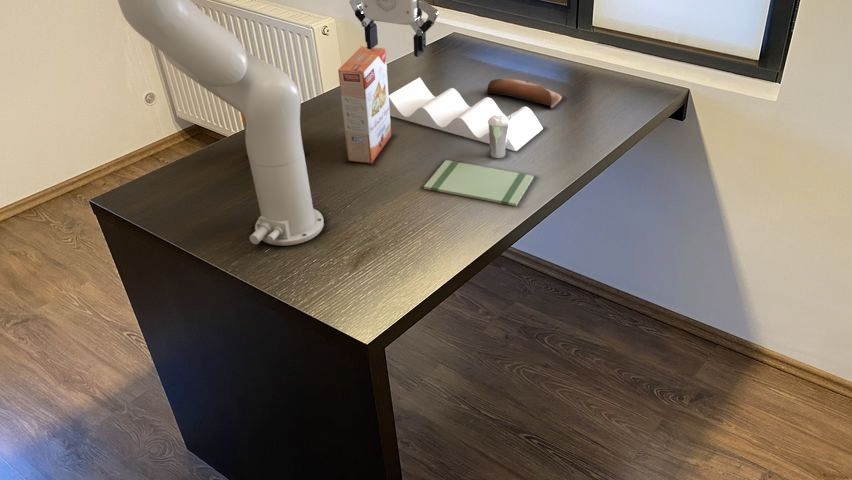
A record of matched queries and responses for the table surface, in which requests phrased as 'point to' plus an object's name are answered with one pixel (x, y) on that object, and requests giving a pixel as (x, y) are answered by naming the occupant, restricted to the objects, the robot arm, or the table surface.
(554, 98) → the sunglasses case
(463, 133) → the white wavy rack
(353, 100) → the cracker box
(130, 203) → the table surface
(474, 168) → the towel
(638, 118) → the table surface
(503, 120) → the milkshake
